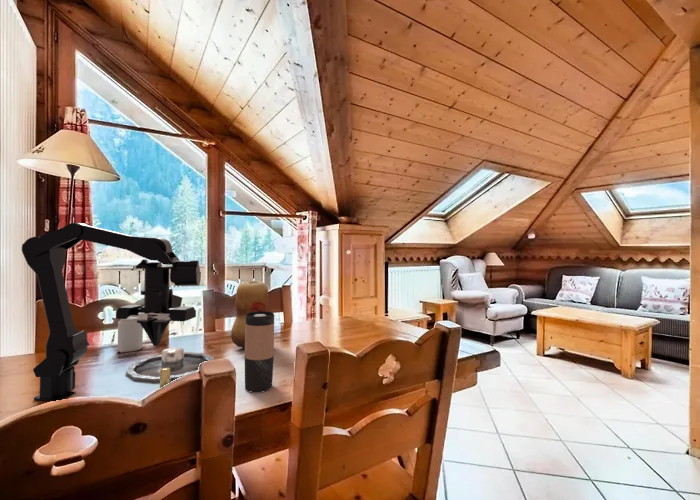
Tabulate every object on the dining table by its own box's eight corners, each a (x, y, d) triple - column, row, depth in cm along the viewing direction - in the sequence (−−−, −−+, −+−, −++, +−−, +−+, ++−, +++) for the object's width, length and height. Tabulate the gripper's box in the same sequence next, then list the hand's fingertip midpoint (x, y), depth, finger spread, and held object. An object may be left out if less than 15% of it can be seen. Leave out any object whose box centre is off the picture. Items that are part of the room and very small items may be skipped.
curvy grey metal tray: (212, 385, 95) (212, 366, 95) (111, 395, 87) (112, 375, 87) (214, 354, 121) (214, 339, 121) (137, 360, 113) (138, 344, 113)
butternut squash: (239, 356, 120) (241, 283, 120) (225, 346, 131) (227, 280, 130) (276, 349, 129) (277, 281, 129) (260, 341, 140) (261, 278, 139)
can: (130, 354, 119) (131, 319, 119) (111, 353, 120) (112, 318, 120) (147, 348, 126) (148, 315, 126) (129, 346, 128) (130, 314, 128)
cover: (182, 369, 104) (182, 352, 104) (159, 371, 102) (160, 354, 102) (184, 362, 110) (184, 347, 110) (163, 364, 108) (163, 348, 108)
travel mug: (275, 382, 99) (276, 311, 98) (270, 393, 91) (271, 317, 91) (248, 381, 99) (249, 310, 98) (240, 393, 91) (242, 316, 91)
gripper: (206, 283, 99) (205, 338, 99) (143, 281, 100) (143, 336, 100) (184, 288, 87) (183, 350, 88) (114, 286, 89) (113, 347, 89)
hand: (156, 345), depth 92 cm, fingers closed
